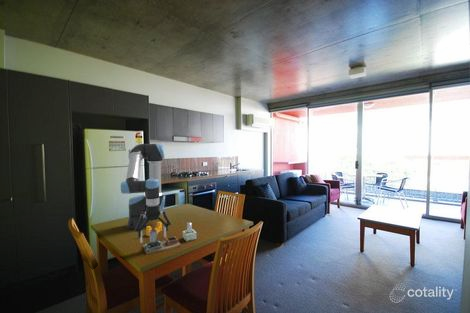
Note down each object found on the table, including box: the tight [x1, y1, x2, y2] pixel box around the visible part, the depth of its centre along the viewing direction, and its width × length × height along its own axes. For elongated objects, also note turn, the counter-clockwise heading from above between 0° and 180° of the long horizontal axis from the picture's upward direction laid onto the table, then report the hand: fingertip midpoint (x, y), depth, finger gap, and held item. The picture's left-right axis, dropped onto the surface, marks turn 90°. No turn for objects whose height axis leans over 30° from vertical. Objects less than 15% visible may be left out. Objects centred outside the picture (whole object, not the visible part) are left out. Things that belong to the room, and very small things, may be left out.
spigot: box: [149, 228, 158, 248], centre depth 126 cm, size 4×4×11 cm
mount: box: [142, 235, 182, 256], centre depth 129 cm, size 12×20×4 cm, turn 122°
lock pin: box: [186, 222, 193, 234], centre depth 140 cm, size 3×3×10 cm
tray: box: [182, 228, 197, 243], centre depth 140 cm, size 7×7×5 cm
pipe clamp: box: [145, 220, 163, 237], centre depth 149 cm, size 12×4×6 cm, turn 155°
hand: (153, 239), depth 126 cm, fingers open, 13 cm apart
